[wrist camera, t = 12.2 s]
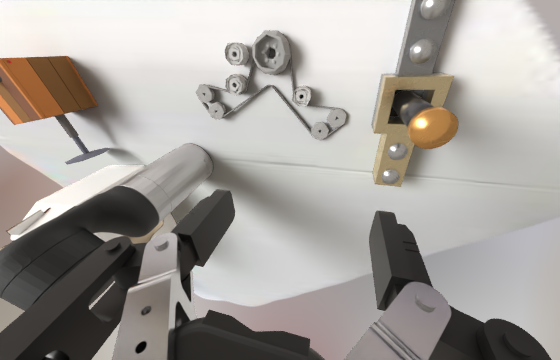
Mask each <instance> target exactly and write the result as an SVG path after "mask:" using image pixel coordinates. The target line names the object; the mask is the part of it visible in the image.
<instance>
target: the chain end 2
mask: <svg viewBox="0 0 560 360" xmlns="http://www.w3.org/2000/svg"><path fill="white" fill-rule="evenodd" d="M453 77H454V76H452V75H448V74H440V75H391V76H383V81H382V86H381V91H380V96H379V101H378V106H377V111H376V116H375V121H374V126H373V131H374V133H377V134H381V138H380V142H379V146H378V151H377V155H376V159H375V164H374V168H373V172H372V173H373V177H374V182H375V184H378V185H388V186H398V187H401V184H402V181H403V178H404V175H405V172H406V169H407V166H408V163H409V160H410V157H411V154H412V151H413V148H414V145H415V144H414V143H413V142H412V141H411V139H410V138H409V136H408V133H407V126H406V125H405V124H404V122H403V121H402V120H388V119H389V115H390V111H391V107H392V103H393V98H394V94H395V90H429V92H428V95H427V98H426V102H428V103H429V104H431V105H432V106H434V107H443V105H444V102H445V99H446V96H447V94H448V91H449V88H450V86H451V83H452V80H453Z"/></svg>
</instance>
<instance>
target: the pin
mask: <svg viewBox="0 0 560 360" xmlns="http://www.w3.org/2000/svg"><path fill="white" fill-rule="evenodd" d="M392 107H393V109H394V110H395V112H396V113H397V114H398V116H399V117H400V118H401V120H402V121H403V122H404V124H405V125H406V126H407V133H408V136H409V138H410V139H411V141H412V142H413V143H414V144H415V145H416V146H418V147H420V148H424V149H433V148H437V147H440V146H442V145H444V144H446V143H447V142H449V141H450V140H451V139H452V138H453V137H454V135H455V134H456V132H457V129H458V120H457V118H456V116H455V115H454V114H453V113H451V112H450V111H448V110H447V109H445V108H442V107H434V106H432V105H431V104H429V103H428V102H426V101H425V100H423V99H422V98H421V97H419V96H418V95H416V94H415V93H413V92H412V91H410V90H403V91H400V92H399V93H397V94H396V95H395V96H394V98H393V103H392Z"/></svg>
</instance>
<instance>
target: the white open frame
mask: <svg viewBox="0 0 560 360" xmlns="http://www.w3.org/2000/svg"><path fill="white" fill-rule="evenodd" d="M145 167H146V166H145V165H109V166H107V167H105V168H103V169H101V170H99V171H97V172H95V173H93V174H91V175H89V176H87V177H85V178H83V179H81V180H79V181H77V182H75V183H73V184H71V185H69V186H67V187H65V188H63V189H61V190H59V191H57V192H55V193H53V194H51V195H49V196H47V197H45V198H43V199H41V200H40V201H38V202H36V203H35V205H34V206H33V207H32V208H31V210H30V211H29V212H28V214H27V215H26V216H25V218H24V219H23V220H22V221H21V222H20V223H18V224H17V225H15V226H13V227H12V228H10V229H9V230H7V231H6V232H7V233H9V234H10V235H11V240H13V241H15V240H16V239H18V238H19V237H21V236H23V235H24V234H26V233H28V232H30V231H31V230H33V229H35V228H37V227H39V226H40V225H42V224H44V223H46V222H48V221H50V220H52V219H54V218H56V217H58V216H59V215H61V214H63V213H65V212H67V211H69V210H71V209H73V208H74V207H76V206H78V205H80V204H82V203H83V202H85V201H87V200H89V199H90V198H92V197H94V196H96V195H98V194H101V193H103V192H106V191H108V190H109V189H111V188H113V187H115V186H116V185H118V184H119V183H121V182H123V181H124V180H126V179H128V178H129V177H131V176H132V175H134V174H136V173H137V172H139V171H141V170H142V169H144V168H145ZM176 225H177V224H176V222H175V220H174V218H173V216H172V214H171V213H170V214H169V215H168V216H166V217H165V218H164V219H163V220H162V221H161V222H160V223H159V224H158V225H157V226H156V227H155V228H154V229H153V230H152V231H151V232H150V233H148V234H147V235H145V236H143V237H129V236H126V237H129V238H130V240H131V241H132V243H133V244H136V243H147V242H149V241H150V240H151V239H152V238H154V237H155V236H157V235H159V234H162V233H170V232H171V231H172V230H173V229H174V227H175V226H176ZM93 234H94V235H96V236H97V237H99V238H100V239H102V240H104V241H105V242H107V241H109V240H111V239H113V238H116V237H120V236H124V235H120V234H115V233H106V232H99V233H93ZM13 241H12V242H13ZM12 242H11V243H12ZM6 246H7V245H6ZM4 247H5V246H4ZM4 247H2V248H0V250H1V249H3V248H4ZM114 281H115V280H114Z"/></svg>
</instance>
